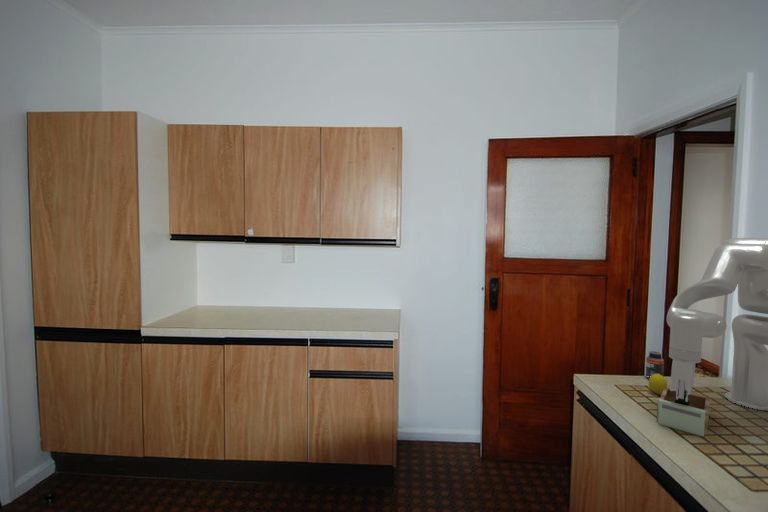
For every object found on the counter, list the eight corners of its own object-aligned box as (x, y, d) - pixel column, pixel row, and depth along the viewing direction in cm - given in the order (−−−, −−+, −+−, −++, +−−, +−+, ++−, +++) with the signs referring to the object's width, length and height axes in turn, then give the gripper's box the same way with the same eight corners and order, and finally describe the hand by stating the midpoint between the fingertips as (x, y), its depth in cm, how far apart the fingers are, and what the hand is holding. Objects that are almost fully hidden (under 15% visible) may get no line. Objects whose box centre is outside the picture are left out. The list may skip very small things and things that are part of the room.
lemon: (669, 398, 133) (671, 377, 132) (652, 396, 134) (654, 375, 134) (661, 391, 138) (662, 371, 138) (645, 390, 139) (646, 370, 139)
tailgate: (658, 421, 115) (659, 398, 113) (704, 434, 107) (705, 410, 106) (658, 424, 114) (658, 400, 112) (703, 437, 106) (705, 412, 105)
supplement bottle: (661, 377, 152) (662, 351, 151) (665, 383, 146) (666, 355, 146) (644, 375, 154) (645, 349, 153) (647, 380, 149) (648, 353, 148)
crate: (663, 403, 128) (664, 387, 128) (709, 415, 120) (710, 398, 120) (656, 423, 115) (657, 404, 115) (706, 437, 107) (707, 418, 107)
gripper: (672, 346, 118) (669, 400, 119) (666, 357, 108) (662, 417, 109) (702, 351, 113) (699, 408, 114) (699, 363, 102) (695, 426, 104)
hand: (681, 412), depth 111 cm, fingers closed
